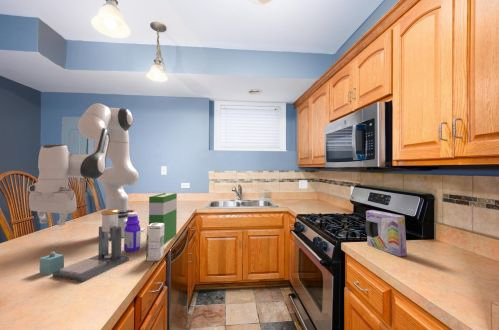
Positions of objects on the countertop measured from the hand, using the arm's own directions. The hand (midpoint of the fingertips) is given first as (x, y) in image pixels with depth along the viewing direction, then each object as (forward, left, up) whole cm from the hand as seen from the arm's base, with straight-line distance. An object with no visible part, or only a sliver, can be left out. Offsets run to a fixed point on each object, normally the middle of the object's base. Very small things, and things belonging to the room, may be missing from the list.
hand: (52, 224), depth 87 cm
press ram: (-14, +12, -9) cm, 21 cm away
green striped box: (-46, +14, -18) cm, 51 cm away
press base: (-7, +12, -17) cm, 22 cm away
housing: (0, 0, -18) cm, 18 cm away
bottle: (-27, +11, -18) cm, 34 cm away
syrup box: (-22, +28, -18) cm, 40 cm away
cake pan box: (-65, +124, -18) cm, 141 cm away
